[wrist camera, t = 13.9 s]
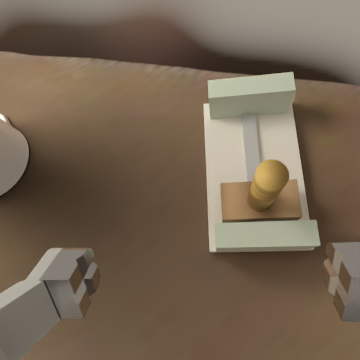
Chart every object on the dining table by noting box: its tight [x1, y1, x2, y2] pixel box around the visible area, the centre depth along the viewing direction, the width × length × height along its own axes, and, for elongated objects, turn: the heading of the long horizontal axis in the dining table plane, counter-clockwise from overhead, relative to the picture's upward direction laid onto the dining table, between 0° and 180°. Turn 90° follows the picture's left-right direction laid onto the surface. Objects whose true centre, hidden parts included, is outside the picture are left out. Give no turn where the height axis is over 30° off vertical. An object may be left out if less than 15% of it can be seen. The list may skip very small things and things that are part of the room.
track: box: [204, 72, 321, 252], centre depth 41 cm, size 14×24×8 cm, turn 1°
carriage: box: [220, 159, 302, 223], centre depth 34 cm, size 10×5×13 cm, turn 91°
